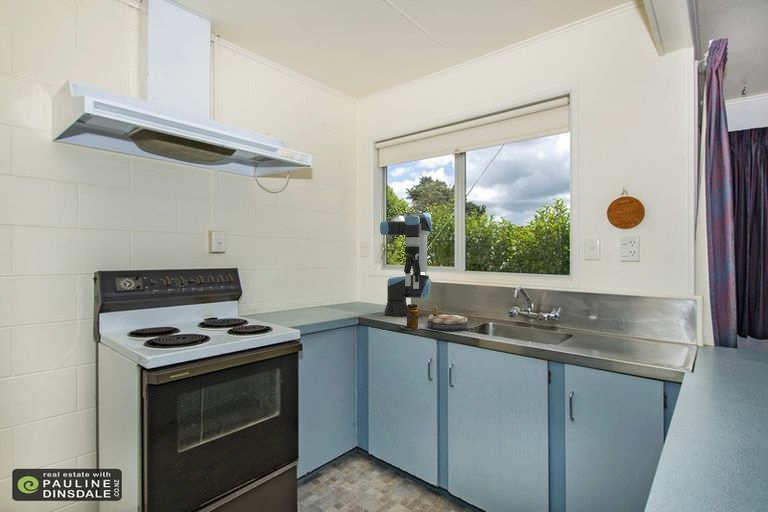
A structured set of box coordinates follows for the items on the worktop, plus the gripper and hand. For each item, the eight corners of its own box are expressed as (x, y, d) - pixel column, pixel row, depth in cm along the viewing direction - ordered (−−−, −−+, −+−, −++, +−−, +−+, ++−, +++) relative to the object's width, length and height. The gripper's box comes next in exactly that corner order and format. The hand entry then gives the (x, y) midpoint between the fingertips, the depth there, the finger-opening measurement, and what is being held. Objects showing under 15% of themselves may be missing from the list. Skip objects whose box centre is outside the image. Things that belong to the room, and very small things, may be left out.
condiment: (421, 328, 202) (421, 304, 202) (408, 330, 197) (408, 306, 197) (413, 325, 208) (413, 303, 208) (399, 327, 203) (400, 304, 203)
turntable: (425, 322, 199) (425, 310, 198) (432, 316, 218) (432, 304, 218) (465, 325, 193) (465, 312, 192) (469, 318, 212) (469, 306, 212)
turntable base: (421, 323, 213) (422, 314, 213) (458, 322, 218) (458, 313, 218) (435, 332, 193) (436, 321, 192) (475, 330, 197) (475, 320, 197)
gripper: (398, 246, 213) (398, 285, 214) (412, 245, 189) (412, 289, 189) (411, 246, 215) (411, 285, 215) (427, 245, 191) (427, 289, 191)
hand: (411, 287), depth 202 cm, fingers open, 13 cm apart
